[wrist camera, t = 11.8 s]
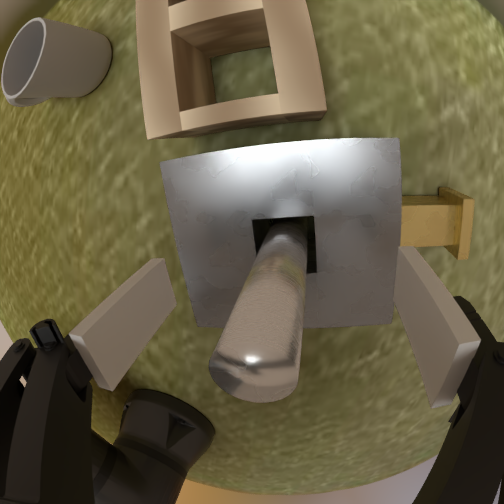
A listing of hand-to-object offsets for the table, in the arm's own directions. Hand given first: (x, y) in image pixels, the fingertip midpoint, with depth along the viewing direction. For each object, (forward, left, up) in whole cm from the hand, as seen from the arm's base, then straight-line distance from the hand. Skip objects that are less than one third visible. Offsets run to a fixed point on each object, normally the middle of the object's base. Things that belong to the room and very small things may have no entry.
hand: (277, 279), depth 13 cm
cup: (-19, +18, -10) cm, 28 cm away
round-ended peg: (0, 0, -10) cm, 10 cm away
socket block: (0, 0, -10) cm, 10 cm away
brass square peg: (+8, 0, -10) cm, 13 cm away
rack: (-2, +15, -10) cm, 18 cm away
